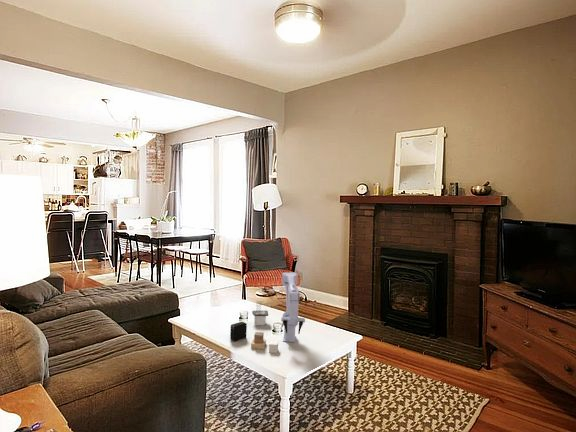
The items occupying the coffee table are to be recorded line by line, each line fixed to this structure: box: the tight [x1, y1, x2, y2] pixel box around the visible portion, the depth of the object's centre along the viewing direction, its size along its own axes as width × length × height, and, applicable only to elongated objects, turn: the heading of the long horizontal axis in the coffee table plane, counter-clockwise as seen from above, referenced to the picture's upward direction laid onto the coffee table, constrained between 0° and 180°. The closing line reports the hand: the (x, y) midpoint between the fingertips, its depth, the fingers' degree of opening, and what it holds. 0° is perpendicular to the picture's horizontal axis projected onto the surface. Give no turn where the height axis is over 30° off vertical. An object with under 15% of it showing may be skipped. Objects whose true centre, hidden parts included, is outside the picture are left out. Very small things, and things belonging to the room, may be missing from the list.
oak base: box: [250, 338, 267, 350], centre depth 226 cm, size 8×8×3 cm
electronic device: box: [229, 321, 248, 342], centre depth 236 cm, size 4×10×10 cm, turn 135°
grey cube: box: [268, 340, 279, 354], centre depth 220 cm, size 5×5×5 cm
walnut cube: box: [253, 331, 264, 343], centre depth 226 cm, size 5×5×5 cm
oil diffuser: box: [251, 301, 269, 326], centre depth 266 cm, size 26×24×17 cm
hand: (292, 332), depth 224 cm, fingers open, 7 cm apart
